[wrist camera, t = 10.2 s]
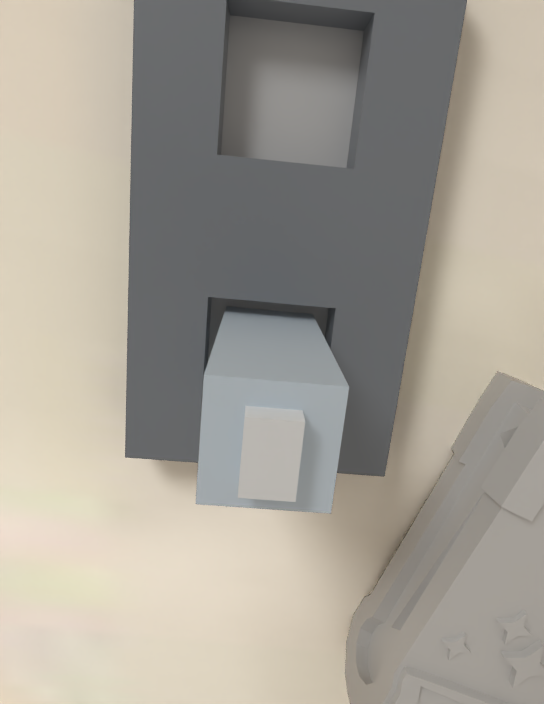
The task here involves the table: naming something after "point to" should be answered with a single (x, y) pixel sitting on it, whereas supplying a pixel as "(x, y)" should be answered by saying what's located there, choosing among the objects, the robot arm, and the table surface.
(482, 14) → the table surface
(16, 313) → the table surface
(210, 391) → the plug
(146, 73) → the jack panel
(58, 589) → the table surface
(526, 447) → the grey lumpy block
